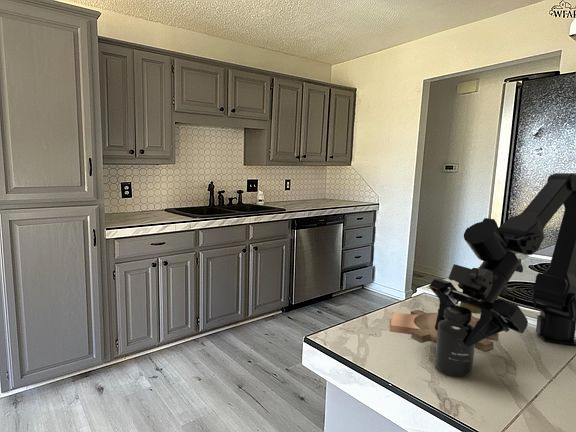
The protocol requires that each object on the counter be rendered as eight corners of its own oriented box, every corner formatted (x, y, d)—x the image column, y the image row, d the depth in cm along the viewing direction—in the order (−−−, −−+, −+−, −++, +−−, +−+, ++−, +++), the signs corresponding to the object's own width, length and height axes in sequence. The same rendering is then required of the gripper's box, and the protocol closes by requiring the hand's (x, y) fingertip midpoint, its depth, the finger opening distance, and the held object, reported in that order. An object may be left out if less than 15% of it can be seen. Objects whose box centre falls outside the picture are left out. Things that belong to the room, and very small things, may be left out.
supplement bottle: (456, 380, 69) (460, 319, 67) (427, 363, 75) (430, 306, 73) (480, 371, 72) (485, 312, 70) (451, 355, 78) (454, 300, 76)
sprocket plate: (487, 320, 98) (488, 300, 97) (508, 359, 78) (510, 334, 77) (392, 309, 105) (393, 290, 104) (389, 342, 85) (390, 319, 84)
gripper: (437, 241, 80) (395, 298, 77) (523, 261, 63) (474, 334, 60) (460, 272, 85) (422, 327, 81) (547, 298, 68) (502, 368, 65)
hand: (450, 337), depth 72 cm, fingers closed on supplement bottle, 7 cm apart
